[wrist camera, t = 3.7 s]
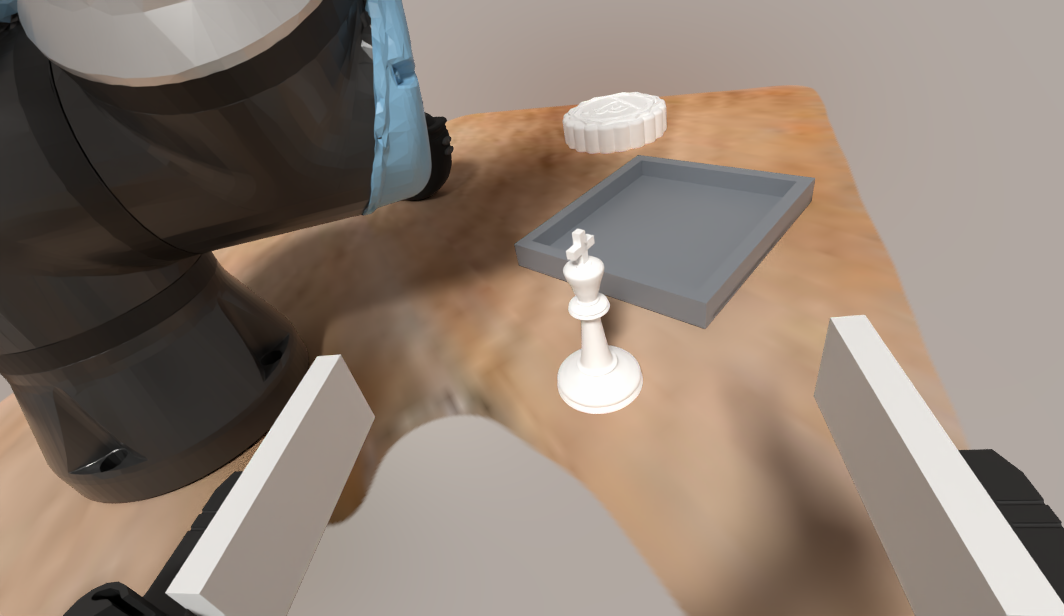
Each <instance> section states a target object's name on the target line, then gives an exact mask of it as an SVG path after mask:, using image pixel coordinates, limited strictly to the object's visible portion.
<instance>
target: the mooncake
mask: <svg viewBox="0 0 1064 616" xmlns="http://www.w3.org/2000/svg"><path fill="white" fill-rule="evenodd" d="M563 127H564V134H565V141H566V144H568V145H569V148H571V149H576V151H578V152H587V153H589V154H596V153H603V154H609V153H613V152H624V151H627V150H630V149H635V148H640V147H642V146H644V145H645V144H649V143H652V142H654V141H655V140H656V138H660V137H662V136H663V132H665V131H666V129H667V122H666V105H665V101H664V100H663V99H660V98H659V97H658V96H653V95H649V94H642V93H639V92H631V93H626V92H622V93H617V94H613V95H609V96H603V97H595V98H592V99H590V100H588V101H584V102H581V103H580V104H579V105H578V106H577V107H574V108H572V109H570V110H569V112H568V113H566V114H565V115H564V119H563Z"/></svg>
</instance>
